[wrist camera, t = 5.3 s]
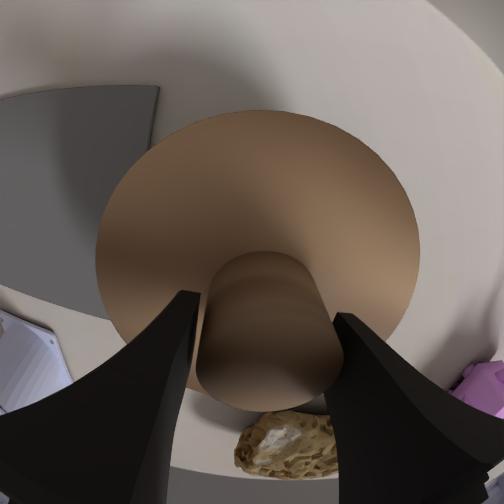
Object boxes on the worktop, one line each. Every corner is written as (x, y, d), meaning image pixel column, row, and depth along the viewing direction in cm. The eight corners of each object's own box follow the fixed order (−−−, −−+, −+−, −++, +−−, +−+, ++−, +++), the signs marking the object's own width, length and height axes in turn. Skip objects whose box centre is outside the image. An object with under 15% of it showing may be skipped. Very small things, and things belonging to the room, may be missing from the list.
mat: (141, 324, 18) (140, 327, 17) (-2, 280, 16) (-4, 282, 16) (159, 87, 11) (157, 86, 11) (-13, 103, 10) (-16, 104, 9)
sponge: (233, 430, 27) (369, 460, 26) (222, 481, 19) (380, 502, 19) (286, 347, 24) (432, 393, 24) (287, 403, 16) (459, 434, 16)
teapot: (480, 326, 20) (528, 388, 11) (519, 329, 22) (554, 373, 13) (394, 427, 27) (414, 484, 18) (449, 415, 29) (469, 458, 20)
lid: (342, 392, 14) (360, 452, 10) (116, 364, 13) (91, 427, 9) (447, 173, 9) (523, 205, 5) (116, 91, 7) (37, 78, 3)
